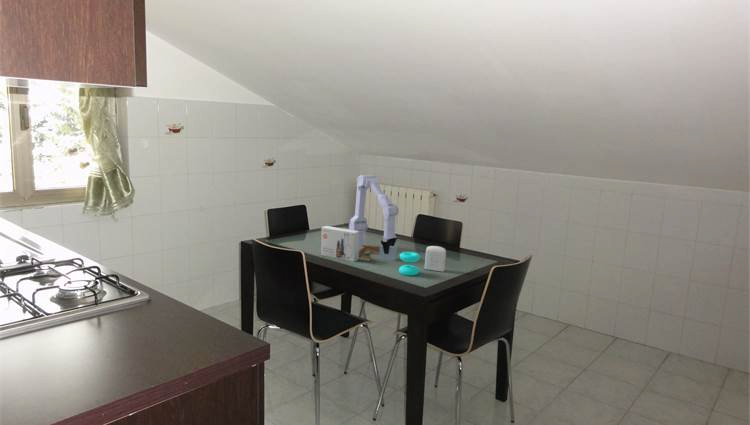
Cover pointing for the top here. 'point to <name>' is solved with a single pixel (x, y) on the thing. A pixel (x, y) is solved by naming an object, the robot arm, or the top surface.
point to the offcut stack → (365, 256)
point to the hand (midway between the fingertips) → (388, 252)
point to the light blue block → (391, 255)
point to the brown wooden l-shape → (369, 249)
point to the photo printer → (435, 258)
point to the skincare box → (340, 243)
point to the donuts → (409, 269)
